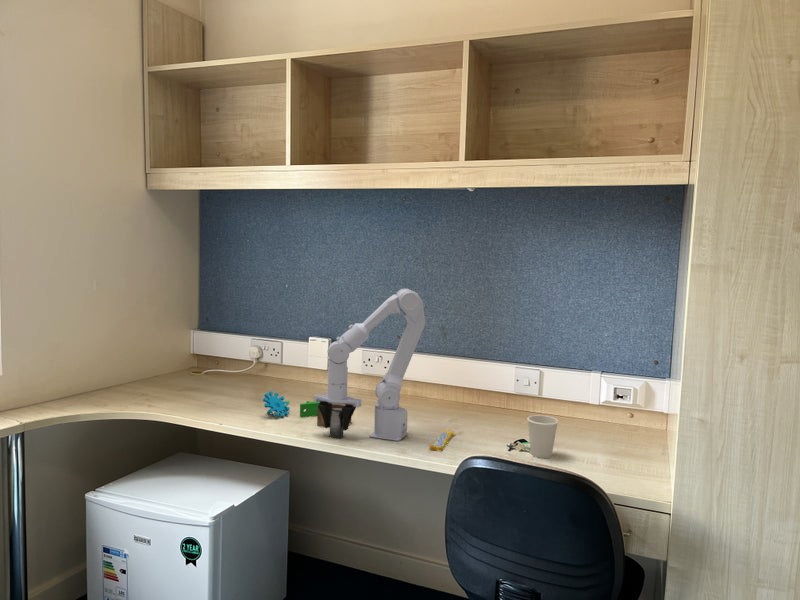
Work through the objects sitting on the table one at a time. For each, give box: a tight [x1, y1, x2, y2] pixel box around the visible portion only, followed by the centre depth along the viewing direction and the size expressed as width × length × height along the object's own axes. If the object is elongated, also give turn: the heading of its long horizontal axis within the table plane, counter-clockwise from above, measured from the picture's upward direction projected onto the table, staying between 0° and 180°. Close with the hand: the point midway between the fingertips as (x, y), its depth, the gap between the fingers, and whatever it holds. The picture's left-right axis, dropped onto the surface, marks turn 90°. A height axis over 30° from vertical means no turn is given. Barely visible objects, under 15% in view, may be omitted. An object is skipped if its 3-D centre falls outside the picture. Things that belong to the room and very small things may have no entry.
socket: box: [316, 404, 352, 429], centre depth 190 cm, size 8×8×6 cm
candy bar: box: [429, 430, 456, 452], centre depth 175 cm, size 17×4×2 cm, turn 163°
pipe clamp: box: [299, 400, 320, 418], centre depth 200 cm, size 11×4×5 cm, turn 116°
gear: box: [262, 390, 291, 418], centre depth 198 cm, size 11×6×10 cm
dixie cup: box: [527, 414, 559, 459], centre depth 166 cm, size 8×8×10 cm
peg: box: [329, 408, 344, 440], centre depth 177 cm, size 4×4×8 cm
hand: (336, 428), depth 177 cm, fingers open, 5 cm apart
